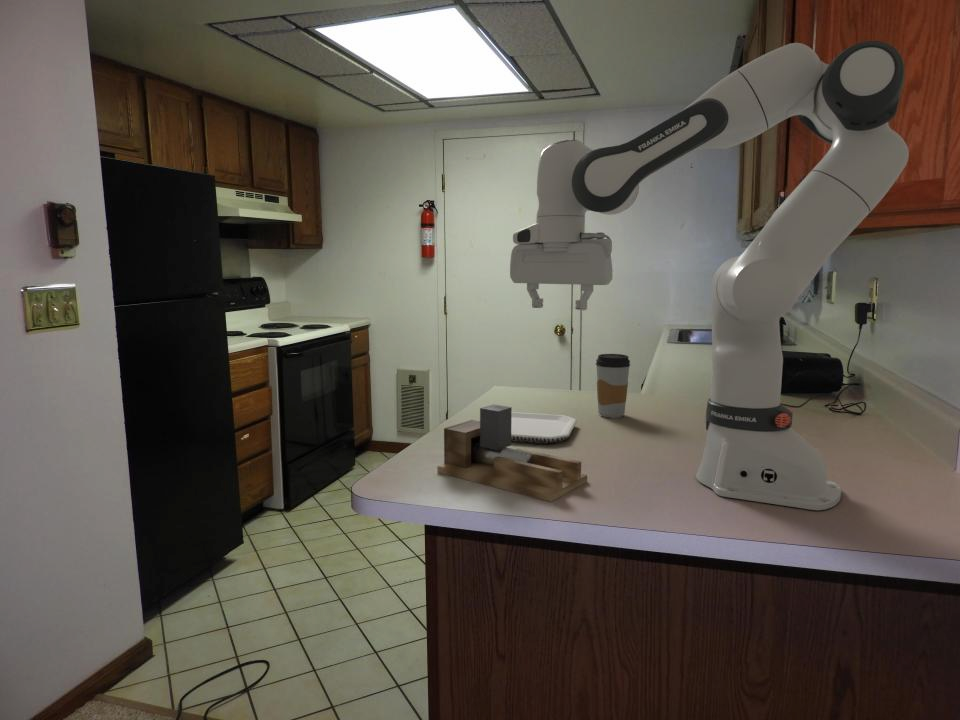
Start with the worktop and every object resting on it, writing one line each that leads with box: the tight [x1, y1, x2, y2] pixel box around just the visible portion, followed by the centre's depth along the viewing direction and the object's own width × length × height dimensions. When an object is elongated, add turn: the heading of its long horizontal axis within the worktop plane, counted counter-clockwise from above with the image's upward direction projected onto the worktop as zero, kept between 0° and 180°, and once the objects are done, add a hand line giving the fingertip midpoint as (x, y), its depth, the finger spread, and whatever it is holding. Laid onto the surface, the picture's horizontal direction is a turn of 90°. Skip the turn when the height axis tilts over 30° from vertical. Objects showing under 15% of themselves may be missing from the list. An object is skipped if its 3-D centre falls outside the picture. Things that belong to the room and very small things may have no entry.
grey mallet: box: [471, 403, 534, 465], centre depth 116 cm, size 14×4×11 cm, turn 52°
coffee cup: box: [595, 353, 631, 419], centre depth 160 cm, size 8×8×15 cm
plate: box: [511, 411, 578, 444], centre depth 146 cm, size 21×21×2 cm
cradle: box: [437, 419, 588, 503], centre depth 114 cm, size 24×12×8 cm, turn 52°
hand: (558, 308), depth 121 cm, fingers open, 8 cm apart
